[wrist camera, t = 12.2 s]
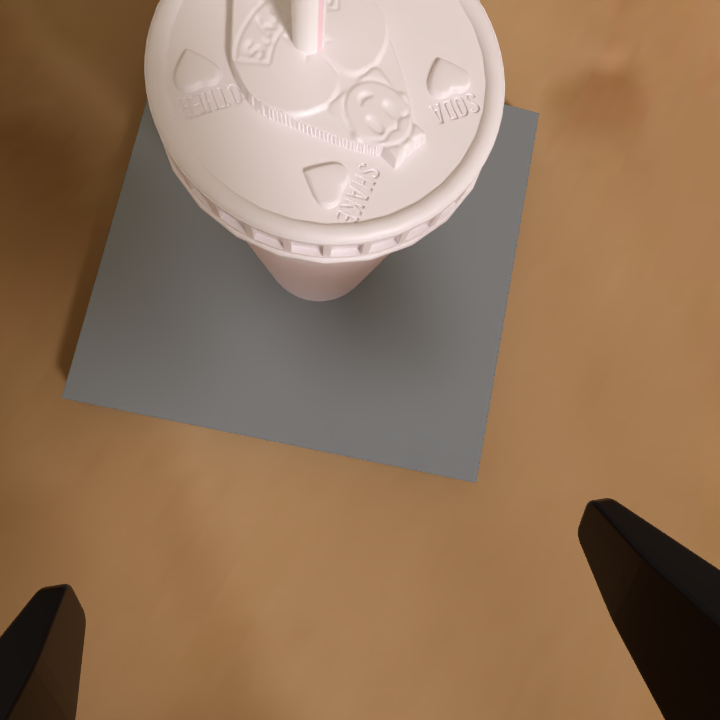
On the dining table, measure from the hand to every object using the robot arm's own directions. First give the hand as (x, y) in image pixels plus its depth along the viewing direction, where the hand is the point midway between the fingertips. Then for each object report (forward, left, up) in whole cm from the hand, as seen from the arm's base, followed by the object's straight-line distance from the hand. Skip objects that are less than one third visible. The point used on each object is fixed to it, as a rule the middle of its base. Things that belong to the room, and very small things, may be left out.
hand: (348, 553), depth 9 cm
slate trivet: (+2, -8, -10) cm, 13 cm away
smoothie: (+2, -8, -9) cm, 12 cm away
